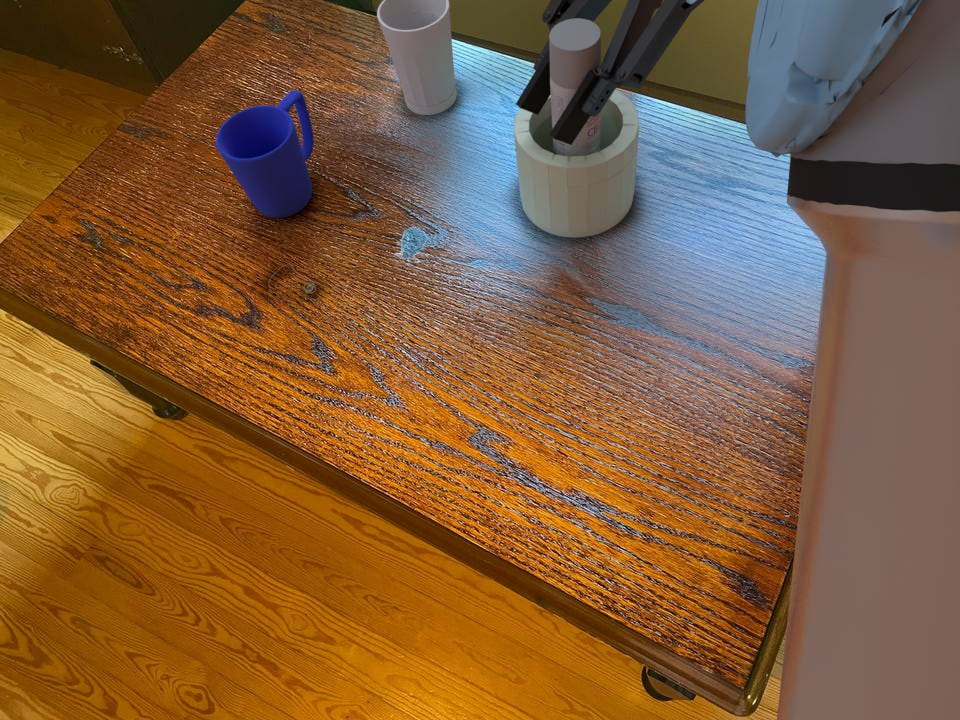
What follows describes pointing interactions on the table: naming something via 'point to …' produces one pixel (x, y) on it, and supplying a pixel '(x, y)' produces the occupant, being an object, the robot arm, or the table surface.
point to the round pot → (578, 172)
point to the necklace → (304, 285)
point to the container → (574, 78)
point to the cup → (421, 51)
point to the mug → (270, 155)
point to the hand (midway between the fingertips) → (543, 124)
